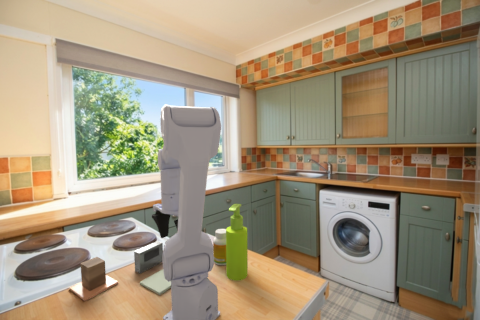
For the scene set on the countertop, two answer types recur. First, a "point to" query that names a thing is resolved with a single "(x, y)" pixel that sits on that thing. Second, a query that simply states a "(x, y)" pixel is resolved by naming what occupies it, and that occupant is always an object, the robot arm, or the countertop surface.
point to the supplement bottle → (219, 247)
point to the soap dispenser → (236, 246)
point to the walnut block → (93, 273)
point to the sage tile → (157, 283)
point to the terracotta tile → (87, 294)
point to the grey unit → (148, 256)
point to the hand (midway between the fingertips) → (173, 239)
